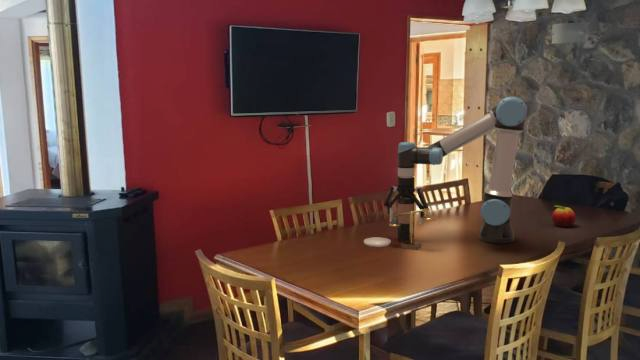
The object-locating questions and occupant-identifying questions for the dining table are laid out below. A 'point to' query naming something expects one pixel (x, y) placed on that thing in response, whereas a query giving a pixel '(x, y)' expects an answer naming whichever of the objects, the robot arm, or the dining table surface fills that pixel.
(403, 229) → the travel mug
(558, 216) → the fruit
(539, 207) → the dining table surface
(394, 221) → the balance
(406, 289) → the dining table surface
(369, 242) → the cream round disc
